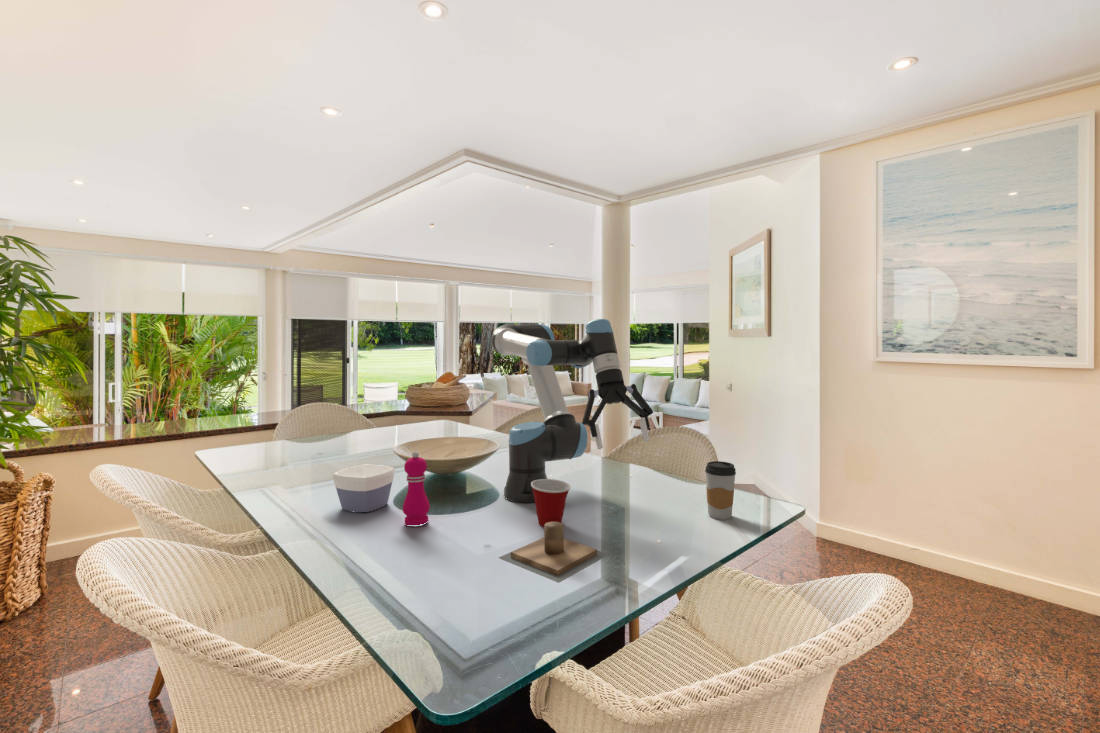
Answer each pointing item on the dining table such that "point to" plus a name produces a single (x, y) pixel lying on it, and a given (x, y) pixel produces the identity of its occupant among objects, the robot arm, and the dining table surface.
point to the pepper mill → (416, 491)
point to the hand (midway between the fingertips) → (623, 445)
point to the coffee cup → (720, 489)
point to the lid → (554, 551)
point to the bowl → (364, 487)
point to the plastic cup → (549, 499)
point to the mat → (551, 576)
